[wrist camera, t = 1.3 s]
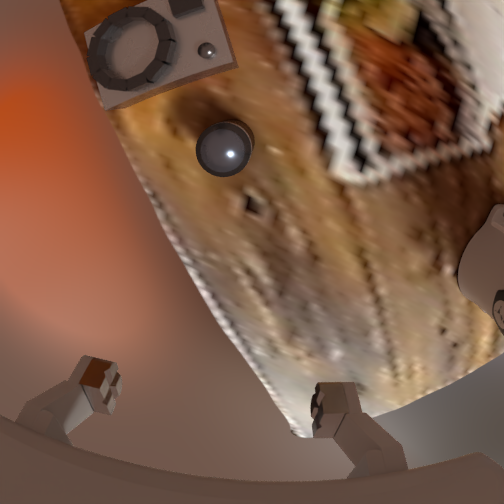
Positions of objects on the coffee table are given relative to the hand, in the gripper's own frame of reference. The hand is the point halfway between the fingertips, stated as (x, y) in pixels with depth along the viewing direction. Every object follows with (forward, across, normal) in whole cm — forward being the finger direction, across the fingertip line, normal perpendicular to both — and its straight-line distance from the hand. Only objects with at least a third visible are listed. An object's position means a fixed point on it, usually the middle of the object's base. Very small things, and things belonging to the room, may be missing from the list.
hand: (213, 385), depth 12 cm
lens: (+28, +2, -6) cm, 28 cm away
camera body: (+28, +10, -17) cm, 34 cm away
